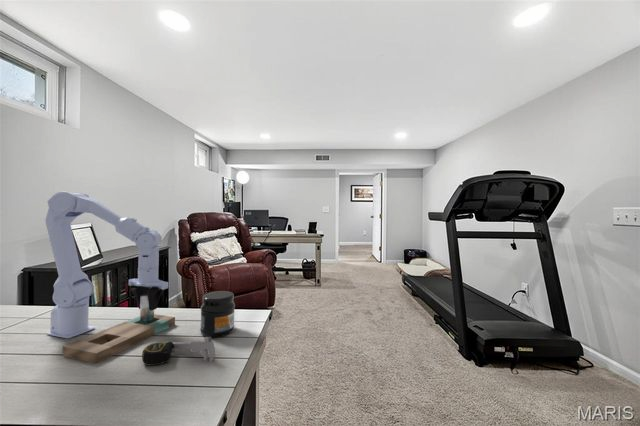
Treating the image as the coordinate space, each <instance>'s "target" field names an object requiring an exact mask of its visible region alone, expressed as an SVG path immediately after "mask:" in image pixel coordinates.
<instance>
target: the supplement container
mask: <svg viewBox="0 0 640 426" xmlns="http://www.w3.org/2000/svg"><path fill="white" fill-rule="evenodd" d="M234 296H235V295H234V293H233V292H232V291H228V290H226V291H225V290H217V291H216V290H215V291H211V292H206V293H205V294H204V295H202V304H201V306H200V333H201V335H202V336H205V337H208V338H209V337H211V338H220V337H224V336H228V335H229V334H231V333H232V332H233V330H235V307H236V304H235V302H234Z"/></svg>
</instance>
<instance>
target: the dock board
mask: <svg viewBox="0 0 640 426" xmlns="http://www.w3.org/2000/svg"><path fill="white" fill-rule="evenodd" d="M175 325H176V317H175V316H169V315H163V314H157V313H154V319H152V320H149V321H140V315H138V316H136V317H134V318H132V319H128V320H125V321H124V322H121V323H119V324H116V325H112V326H111V327H108V328H106V329H103V330H101V331H98V332H96V333H93V334H90V335H88V336H85V337H83V338H80V339H78V340H75V341H73V342H70V343H68V344H65V345H62V356H63V357H67V358H70V359H76V360H80V361H84V362H89V363H93V364H98V363H99V362H102V361H104V360H106V359H108V358H110V357H112V356H114V355H116V354H118V353H120V352H122V351H124V350H126V349H128V348H130V347H132V346H134V345H136V344H139V343H140V342H142V341H145V340H147V339H148V338H151V337H152V336H155V335H156V334H159V333H160V332H162V331H164V330H167V329H168V328H171V327H173V326H175Z"/></svg>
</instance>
